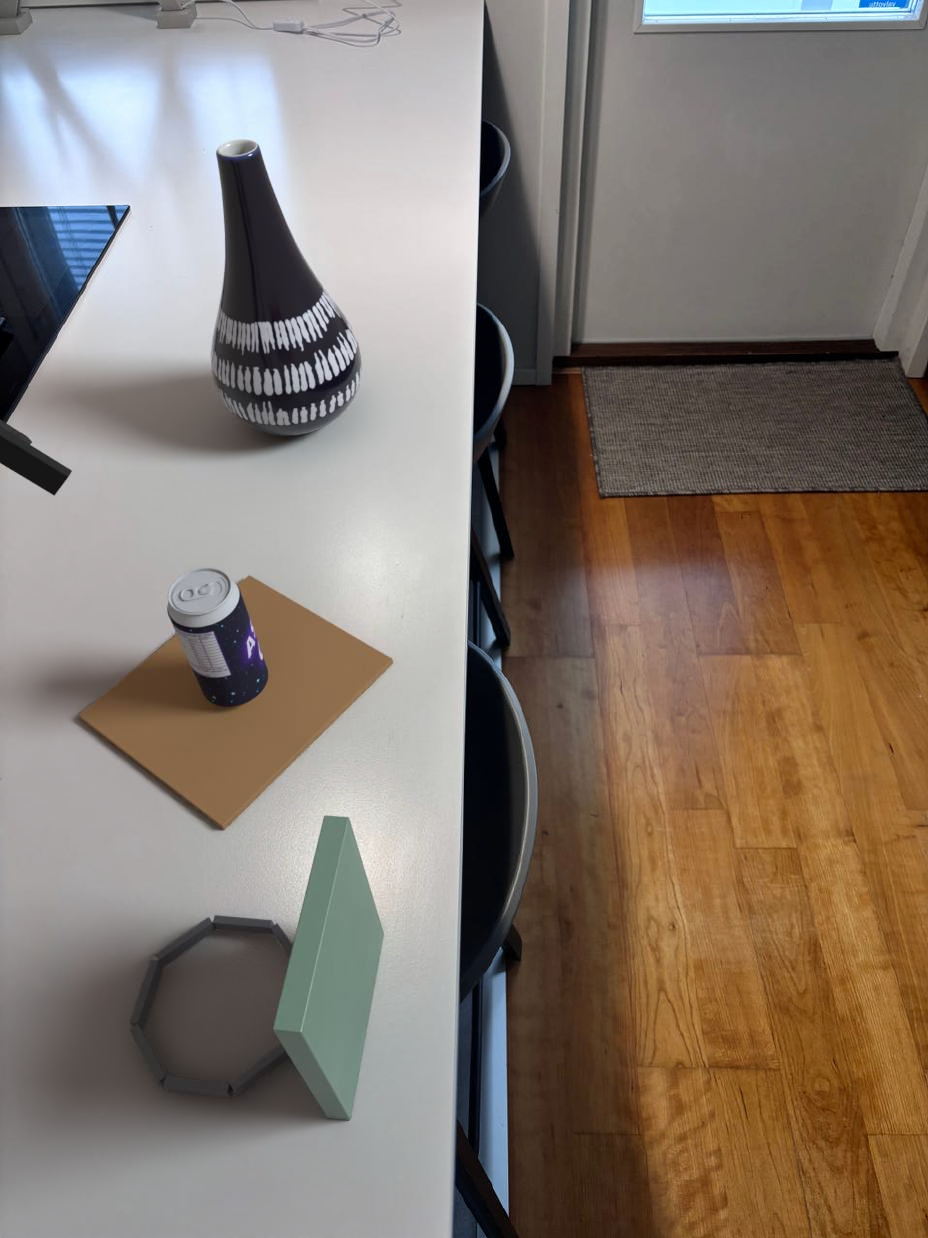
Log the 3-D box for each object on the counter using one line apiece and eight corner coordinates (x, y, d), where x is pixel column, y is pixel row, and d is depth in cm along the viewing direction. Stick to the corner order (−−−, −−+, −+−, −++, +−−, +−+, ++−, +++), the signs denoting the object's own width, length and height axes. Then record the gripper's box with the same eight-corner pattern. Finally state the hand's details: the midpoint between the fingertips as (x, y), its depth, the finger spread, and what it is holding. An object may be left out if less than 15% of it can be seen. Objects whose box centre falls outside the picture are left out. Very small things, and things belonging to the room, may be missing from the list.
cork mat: (224, 830, 72) (222, 826, 72) (80, 719, 80) (77, 715, 80) (393, 663, 82) (392, 658, 82) (250, 579, 90) (249, 574, 90)
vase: (205, 452, 104) (114, 180, 82) (263, 370, 114) (197, 108, 92) (340, 471, 100) (284, 192, 78) (388, 384, 110) (350, 115, 88)
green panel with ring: (115, 1093, 60) (9, 1002, 48) (174, 914, 68) (96, 797, 56) (350, 1121, 58) (301, 1033, 46) (384, 933, 66) (349, 816, 54)
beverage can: (275, 703, 80) (241, 606, 71) (208, 721, 79) (165, 626, 70) (265, 653, 83) (232, 556, 74) (201, 670, 82) (159, 573, 73)
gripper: (-197, 295, 69) (72, 462, 79) (-454, 527, 53) (-77, 704, 62) (-171, 224, 65) (111, 410, 74) (-445, 453, 48) (-39, 656, 58)
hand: (26, 545), depth 68 cm, fingers open, 13 cm apart
